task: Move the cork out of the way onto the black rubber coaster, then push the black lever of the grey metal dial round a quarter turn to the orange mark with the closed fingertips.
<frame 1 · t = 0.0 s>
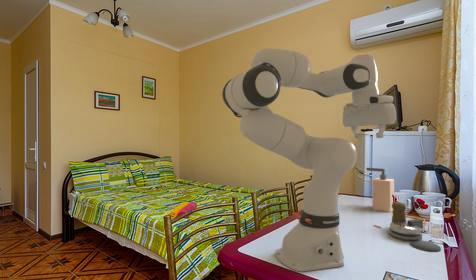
hand: (368, 137, 96), 39 cm above the table, tool pointing down, fingers open, 8 cm apart
soap dispenser: (379, 208, 142), on the table
cork: (399, 228, 111), on the table
coaster: (424, 246, 92), on the table
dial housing: (404, 236, 102), on the table
dial: (408, 226, 103), point 4 cm above the table, hinge at 0.0°
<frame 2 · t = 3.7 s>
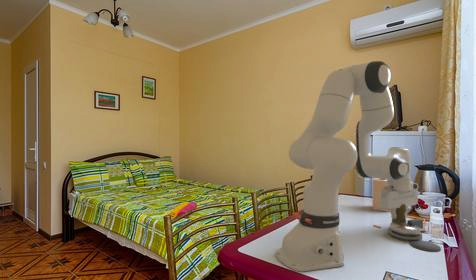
hand: (398, 217, 111), 5 cm above the table, tool pointing down, fingers closed on cork, 4 cm apart
cork: (398, 228, 111), on the table, touching gripper
everything else where it was.
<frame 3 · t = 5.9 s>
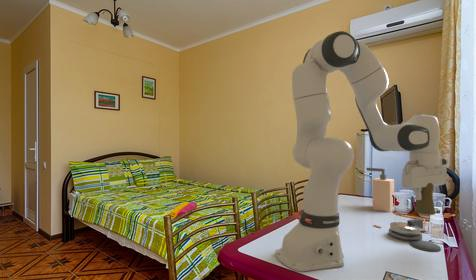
hand: (424, 199, 92), 17 cm above the table, tool pointing down, fingers closed on cork, 4 cm apart
cork: (424, 212, 92), point 12 cm above the table, touching gripper
everything else where it was.
when the fingers open (6 cm above the table, at t = 8.2 s): cork drops 1 cm, resting on coaster.
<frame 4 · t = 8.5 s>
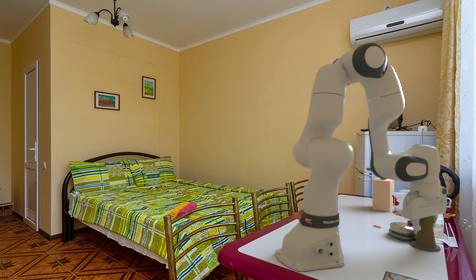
hand: (424, 228, 92), 6 cm above the table, tool pointing down, fingers open, 7 cm apart
cork: (425, 245, 92), resting on coaster
everything else where it was.
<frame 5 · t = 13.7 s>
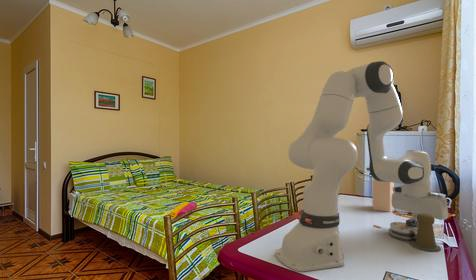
hand: (417, 224, 104), 4 cm above the table, tool pointing down, fingers closed, pressing on dial
dial: (407, 225, 103), point 4 cm above the table, hinge at 9.7°, touching gripper
everything else where it was.
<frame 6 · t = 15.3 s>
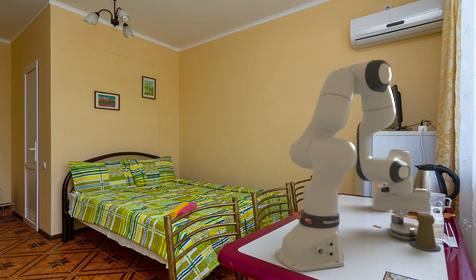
hand: (400, 220, 108), 4 cm above the table, tool pointing down, fingers closed, pressing on dial
dial: (401, 224, 104), point 4 cm above the table, hinge at 57.0°, touching gripper
everything else where it was.
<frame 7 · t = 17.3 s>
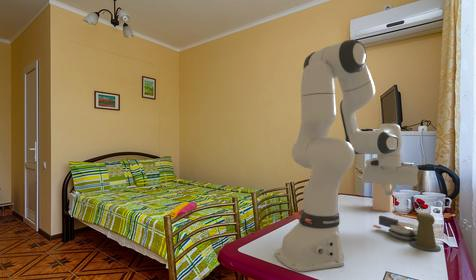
hand: (388, 194, 109), 15 cm above the table, tool pointing down, fingers closed
dial: (398, 225, 104), point 4 cm above the table, hinge at 94.9°
everything else where it was.
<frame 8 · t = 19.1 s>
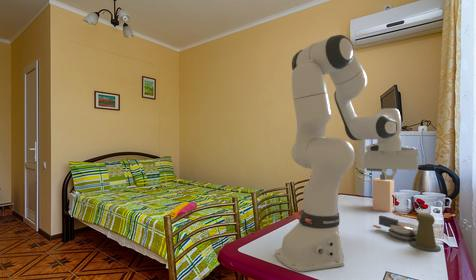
hand: (389, 179, 109), 21 cm above the table, tool pointing down, fingers closed
nothing on the table moved.
at the end: dial at +95° (first picture: +0°); cork 0.5 cm from the coaster (horizontally); cork tilted 0° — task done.
